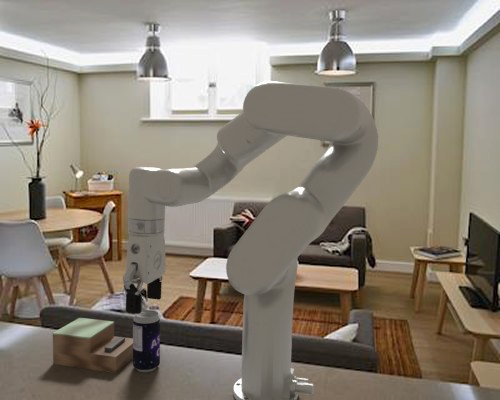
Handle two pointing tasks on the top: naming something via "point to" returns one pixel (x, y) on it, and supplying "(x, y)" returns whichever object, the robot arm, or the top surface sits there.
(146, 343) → the beverage can
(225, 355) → the top surface
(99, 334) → the stand
